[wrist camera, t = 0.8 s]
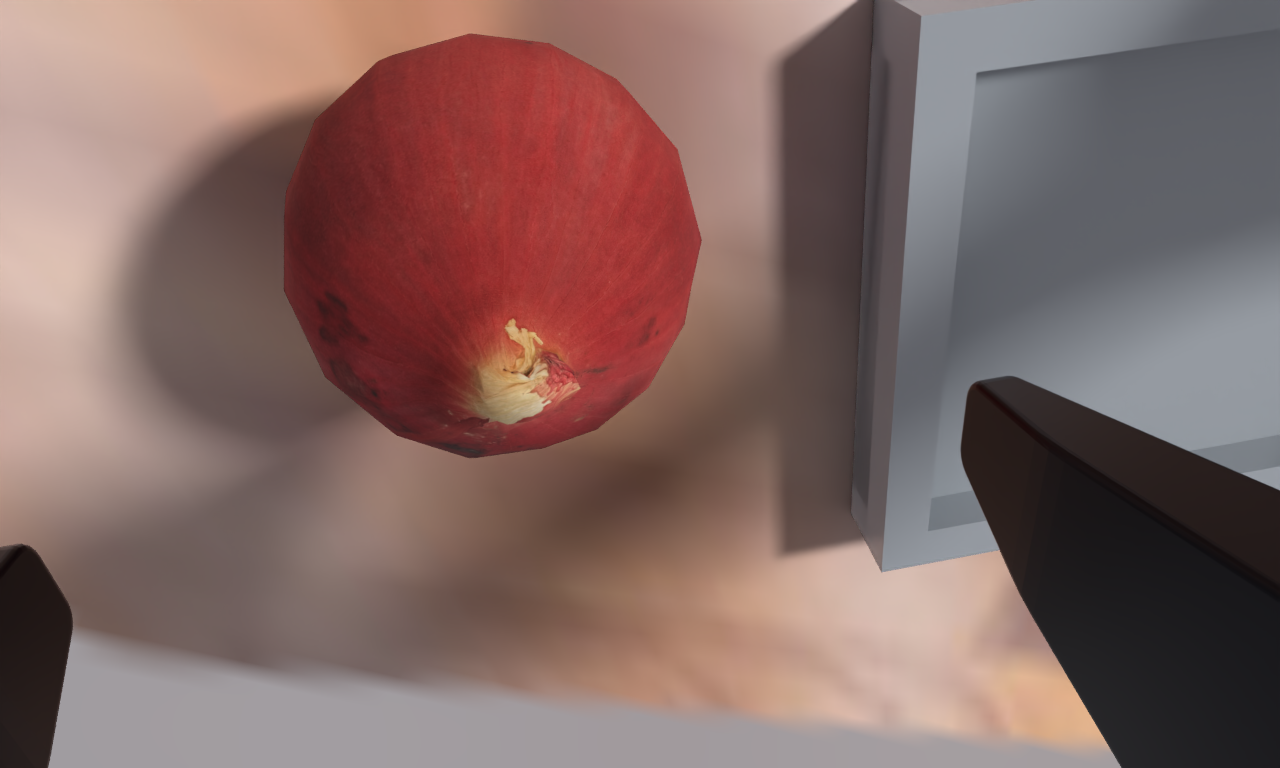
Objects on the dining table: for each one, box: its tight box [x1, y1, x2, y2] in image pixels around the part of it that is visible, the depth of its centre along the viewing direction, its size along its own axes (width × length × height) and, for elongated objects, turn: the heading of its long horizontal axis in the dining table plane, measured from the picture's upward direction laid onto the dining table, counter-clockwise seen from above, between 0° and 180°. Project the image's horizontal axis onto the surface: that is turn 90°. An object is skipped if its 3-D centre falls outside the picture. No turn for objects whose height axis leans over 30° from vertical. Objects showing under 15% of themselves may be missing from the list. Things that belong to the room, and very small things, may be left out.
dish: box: [851, 0, 1280, 572], centre depth 19 cm, size 12×12×2 cm
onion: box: [284, 34, 702, 458], centre depth 14 cm, size 6×6×8 cm
